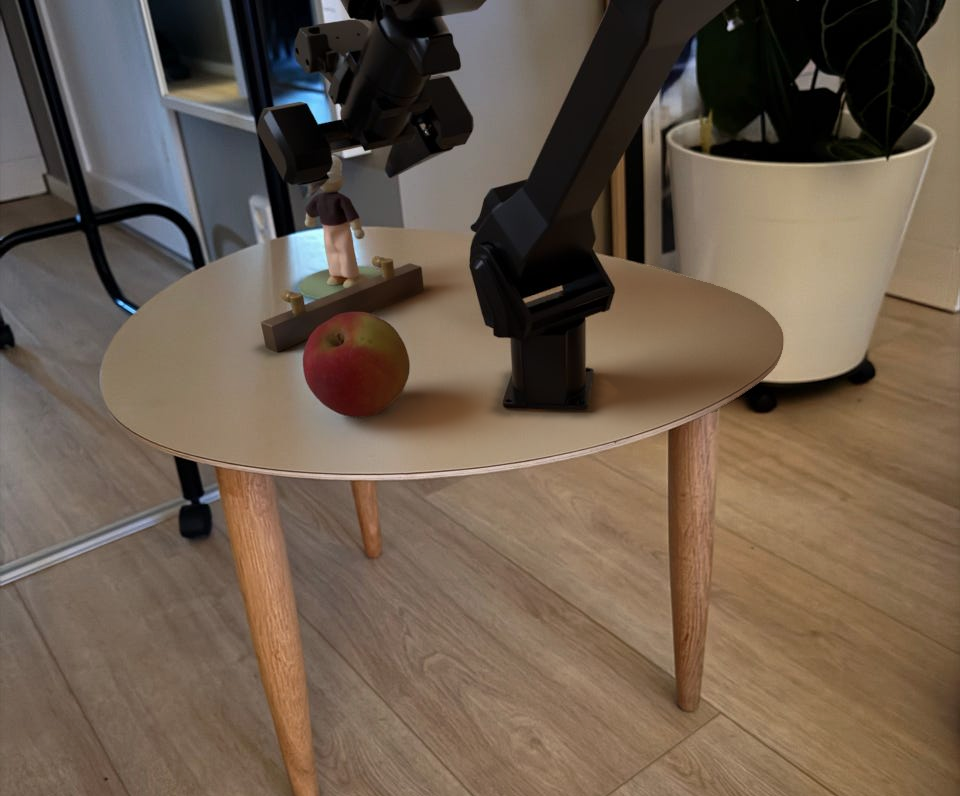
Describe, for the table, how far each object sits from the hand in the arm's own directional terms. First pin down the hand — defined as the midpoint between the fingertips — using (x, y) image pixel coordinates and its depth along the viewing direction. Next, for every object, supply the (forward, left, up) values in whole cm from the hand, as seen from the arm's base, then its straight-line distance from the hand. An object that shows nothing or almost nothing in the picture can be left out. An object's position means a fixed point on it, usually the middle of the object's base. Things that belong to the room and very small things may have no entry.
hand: (346, 184), depth 89 cm
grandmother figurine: (+3, +3, -11) cm, 11 cm away
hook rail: (-3, +4, -11) cm, 12 cm away
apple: (-24, -7, -11) cm, 28 cm away
